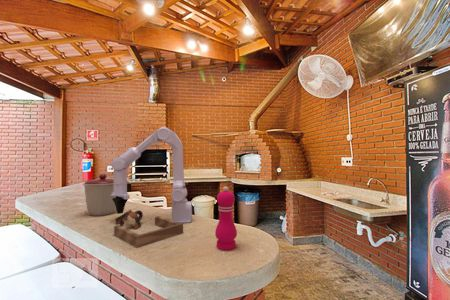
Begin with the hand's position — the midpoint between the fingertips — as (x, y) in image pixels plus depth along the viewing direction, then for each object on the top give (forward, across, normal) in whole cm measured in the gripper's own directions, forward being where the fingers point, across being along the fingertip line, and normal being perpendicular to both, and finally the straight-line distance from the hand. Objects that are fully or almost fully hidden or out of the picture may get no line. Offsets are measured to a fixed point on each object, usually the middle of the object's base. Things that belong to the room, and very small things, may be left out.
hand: (120, 213), depth 107 cm
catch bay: (+4, +26, 0) cm, 26 cm away
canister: (+4, -23, 0) cm, 23 cm away
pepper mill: (+4, +57, +10) cm, 58 cm away
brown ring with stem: (+4, +11, 0) cm, 12 cm away
